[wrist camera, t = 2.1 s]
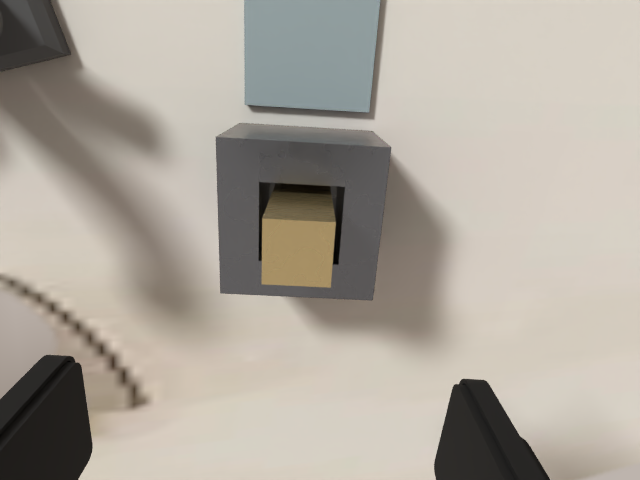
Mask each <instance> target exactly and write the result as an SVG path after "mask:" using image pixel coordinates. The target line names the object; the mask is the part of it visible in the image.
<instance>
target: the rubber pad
mask: <svg viewBox="0 0 640 480" xmlns="http://www.w3.org/2000/svg"><path fill="white" fill-rule="evenodd" d="M379 8H380V0H244V25H245V105H257V106H273V107H289V108H305V109H320V110H336V111H352V112H368V113H369V109H370V99H371V89H372V79H373V69H374V59H375V49H376V39H377V29H378V19H379Z"/></svg>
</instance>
